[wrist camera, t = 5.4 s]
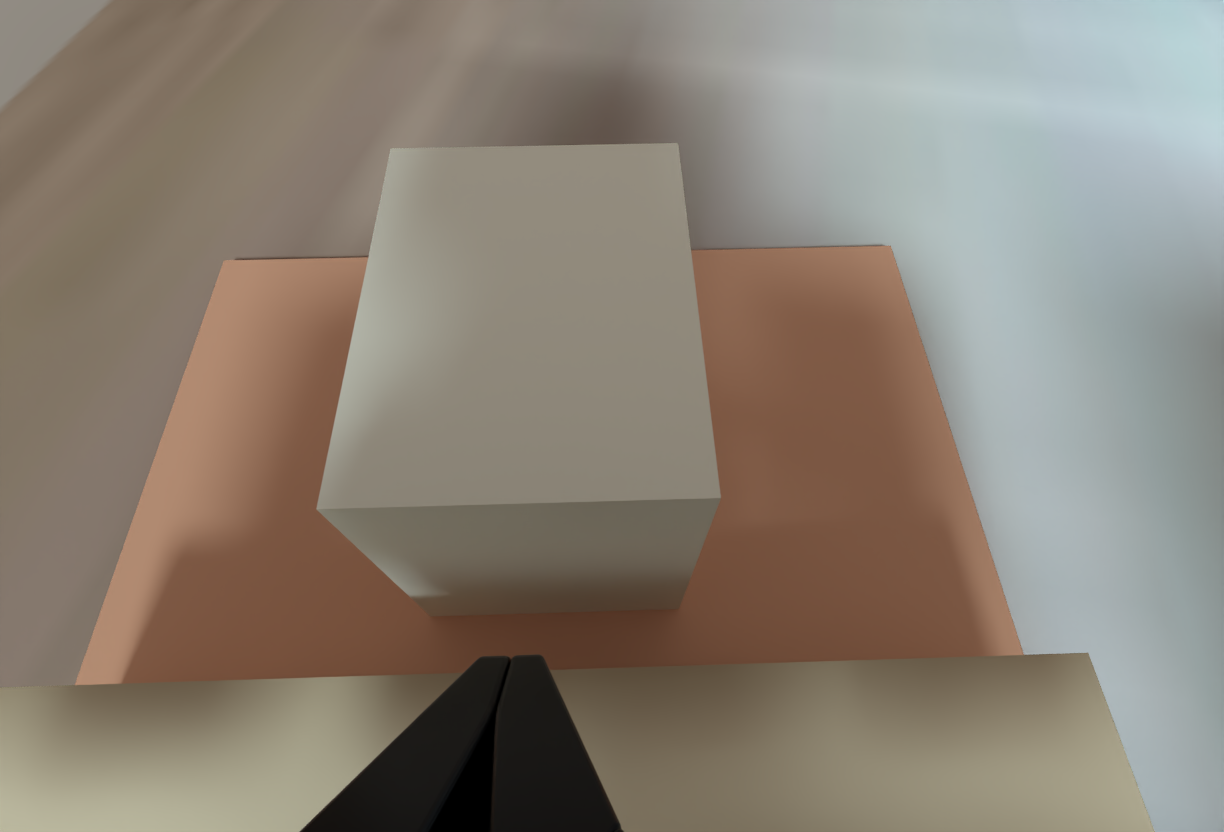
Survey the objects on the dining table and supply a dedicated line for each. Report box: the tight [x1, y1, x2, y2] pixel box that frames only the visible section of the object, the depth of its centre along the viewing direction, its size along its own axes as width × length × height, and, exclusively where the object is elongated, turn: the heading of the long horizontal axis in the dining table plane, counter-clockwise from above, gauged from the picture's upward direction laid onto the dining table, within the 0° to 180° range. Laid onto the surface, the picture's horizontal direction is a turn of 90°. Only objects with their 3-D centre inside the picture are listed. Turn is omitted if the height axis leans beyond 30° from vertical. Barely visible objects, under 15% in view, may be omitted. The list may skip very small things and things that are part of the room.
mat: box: [75, 246, 1024, 685], centre depth 18 cm, size 13×22×1 cm, turn 92°
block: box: [316, 143, 721, 616], centre depth 15 cm, size 7×6×8 cm
